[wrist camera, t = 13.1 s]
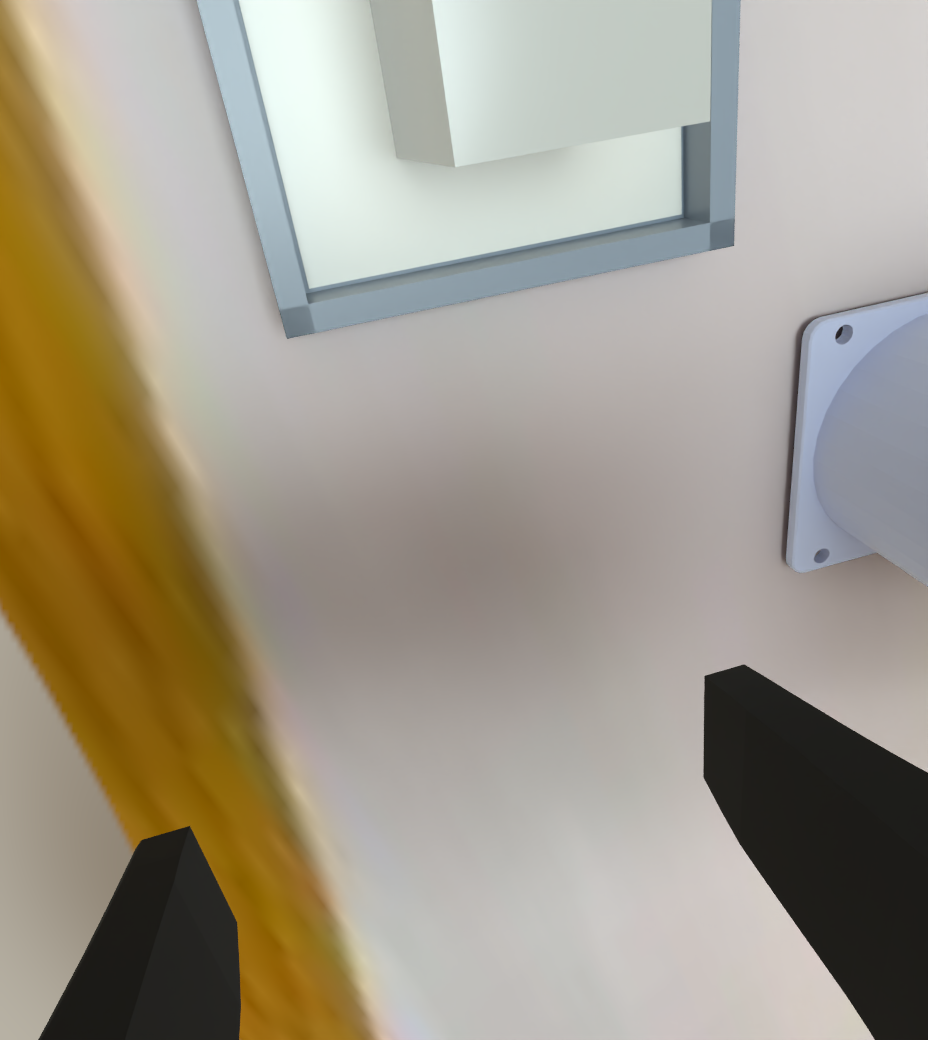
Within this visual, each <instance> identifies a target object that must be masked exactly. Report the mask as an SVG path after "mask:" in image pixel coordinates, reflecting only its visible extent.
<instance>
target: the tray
mask: <svg viewBox="0 0 928 1040" xmlns="http://www.w3.org/2000/svg"><path fill="white" fill-rule="evenodd" d="M196 1H197V4H198V8H199V12H200V16H201V19H202V23H203V27H204V30H205V34H206V38H207V42H208V45H209V49H210V53H211V57H212V60H213V64H214V68H215V72H216V75H217V79H218V83H219V87H220V90H221V94H222V98H223V101H224V105H225V109H226V113H227V116H228V120H229V124H230V128H231V131H232V135H233V139H234V143H235V146H236V150H237V154H238V158H239V161H240V165H241V169H242V172H243V176H244V180H245V184H246V187H247V191H248V195H249V199H250V202H251V206H252V210H253V214H254V217H255V221H256V225H257V229H258V232H259V236H260V240H261V243H262V247H263V251H264V255H265V258H266V262H267V266H268V270H269V273H270V277H271V281H272V285H273V288H274V292H275V296H276V300H277V303H278V307H279V311H280V314H281V318H282V322H283V326H284V329H285V333H286V337H287V339H288V338H293V337H298V336H303V335H307V334H312V333H317V332H322V331H327V330H331V329H336V328H341V327H346V326H351V325H356V324H360V323H365V322H370V321H375V320H380V319H384V318H389V317H394V316H399V315H404V314H408V313H413V312H418V311H423V310H428V309H432V308H437V307H442V306H447V305H452V304H456V303H461V302H466V301H471V300H476V299H480V298H485V297H490V296H495V295H500V294H504V293H509V292H514V291H519V290H524V289H528V288H533V287H538V286H543V285H548V284H553V283H557V282H562V281H567V280H572V279H577V278H581V277H586V276H591V275H596V274H601V273H605V272H610V271H615V270H620V269H625V268H629V267H634V266H639V265H644V264H649V263H653V262H658V261H663V260H668V259H673V258H677V257H682V256H687V255H692V254H697V253H701V252H706V251H711V250H716V249H721V248H726V247H730V246H734V222H735V185H736V147H737V110H738V72H739V34H740V0H712V13H711V96H710V121H709V122H703V123H698V124H692V125H687V126H681V127H676V128H670V129H665V130H659V131H654V132H648V133H643V134H637V135H632V136H626V137H620V138H615V139H609V140H604V141H598V142H593V143H587V144H582V145H576V146H571V147H565V148H560V149H554V150H549V151H543V152H538V153H532V154H527V155H521V156H516V157H510V158H505V159H499V160H493V161H488V162H482V163H477V164H471V165H466V166H460V167H449V166H443V165H437V164H430V163H424V162H418V161H411V160H405V159H399V158H397V157H396V151H395V146H394V140H393V134H392V128H391V123H390V117H389V111H388V105H387V99H386V94H385V88H384V82H383V76H382V71H381V65H380V59H379V53H378V47H377V42H376V36H375V30H374V24H373V19H372V13H371V7H370V1H369V0H196Z"/></svg>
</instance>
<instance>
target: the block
mask: <svg viewBox="0 0 928 1040" xmlns="http://www.w3.org/2000/svg"><path fill="white" fill-rule="evenodd" d="M369 1H370V7H371V13H372V19H373V24H374V30H375V36H376V42H377V47H378V53H379V59H380V65H381V71H382V76H383V82H384V88H385V94H386V99H387V105H388V111H389V117H390V123H391V128H392V134H393V140H394V146H395V151H396V157H397V158H399V159H405V160H411V161H418V162H424V163H430V164H437V165H443V166H449V167H460V166H466V165H471V164H477V163H482V162H488V161H493V160H499V159H505V158H510V157H516V156H521V155H527V154H532V153H538V152H543V151H549V150H554V149H560V148H565V147H571V146H576V145H582V144H587V143H593V142H598V141H604V140H609V139H615V138H620V137H626V136H632V135H637V134H643V133H648V132H654V131H659V130H665V129H670V128H676V127H681V126H687V125H692V124H698V123H703V122H709V121H710V96H711V13H712V0H369Z"/></svg>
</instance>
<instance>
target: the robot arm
mask: <svg viewBox="0 0 928 1040" xmlns="http://www.w3.org/2000/svg"><path fill="white" fill-rule="evenodd" d="M841 326H843V331H842V334H841V336H840V337H839V338H838V339H835V335H836V332H837V331H838V329H839V328H840V327H841ZM819 550H820V552H819V553H818V554H817V555H816V556H815V554H816V553H817V552H818V551H819ZM874 553H878V554H880V555H881V556H883V557H884V558H886V559H887V560H889V561H890V562H892V563H893V564H895V565H896V566H897V567H899V568H900V569H902V570H903V571H905V572H906V573H908V574H909V575H911V576H912V577H914V578H915V579H917V580H918V581H920V582H921V583H923V584H924V585H926V586H927V587H928V293H924V294H920V295H915V296H911V297H907V298H902V299H898V300H893V301H889V302H884V303H880V304H876V305H871V306H867V307H862V308H858V309H853V310H849V311H845V312H840V313H836V314H831V315H827V316H822V317H819V318H817V319H815V320H813V321H812V322H811V323H810V324H809V325H808V326H807V328H806V329H805V331H804V333H803V337H802V347H801V360H800V374H799V387H798V401H797V415H796V428H795V442H794V456H793V469H792V483H791V496H790V510H789V524H788V537H787V551H786V562H787V564H788V565H789V567H791V568H792V569H793V570H794V571H795V572H798V573H805V572H809V571H812V570H816V569H820V568H823V567H827V566H830V565H834V564H838V563H841V562H845V561H849V560H852V559H856V558H859V557H863V556H867V555H870V554H874ZM704 779H705V781H706V783H707V785H708V787H709V789H710V790H711V792H712V794H713V796H714V798H715V800H716V802H717V804H718V806H719V807H720V809H721V811H722V813H723V815H724V817H725V818H726V820H727V822H728V824H729V826H730V827H731V829H732V831H733V833H734V834H735V836H736V838H737V840H738V842H739V843H740V845H741V846H742V848H743V849H744V851H745V852H746V854H747V855H748V857H749V858H750V860H751V861H752V862H753V864H754V865H755V867H756V868H757V870H758V871H759V872H760V874H761V875H762V877H763V878H764V880H765V881H766V883H767V884H768V885H769V887H770V888H771V890H772V891H773V893H774V894H775V895H776V897H777V898H778V900H779V901H780V903H781V904H782V905H783V907H784V908H785V910H786V911H787V912H788V914H789V915H790V917H791V918H792V919H793V921H794V922H795V924H796V925H797V927H798V928H799V929H800V931H801V932H802V934H803V935H804V936H805V938H806V939H807V941H808V942H809V944H810V945H811V946H812V948H813V949H814V951H815V952H816V953H817V955H818V956H819V958H820V959H821V960H822V962H823V963H824V965H825V966H826V968H827V969H828V970H829V972H830V973H831V975H832V976H833V977H834V979H835V980H836V982H837V983H838V985H839V986H840V987H841V989H842V990H843V992H844V993H845V994H846V996H847V997H848V999H849V1000H850V1002H851V1003H852V1005H853V1006H854V1008H855V1010H856V1011H857V1013H858V1014H859V1016H860V1017H861V1019H862V1020H863V1022H864V1023H865V1025H866V1026H867V1028H868V1029H869V1031H870V1032H871V1034H872V1036H873V1037H874V1039H875V1040H928V773H927V772H925V771H924V770H922V769H920V768H918V767H916V766H914V765H913V764H911V763H909V762H907V761H905V760H904V759H902V758H900V757H898V756H896V755H895V754H893V753H891V752H889V751H888V750H886V749H884V748H882V747H881V746H879V745H877V744H875V743H874V742H872V741H870V740H869V739H867V738H865V737H863V736H862V735H860V734H858V733H857V732H855V731H853V730H852V729H850V728H848V727H846V726H845V725H843V724H841V723H840V722H838V721H836V720H835V719H833V718H831V717H830V716H828V715H826V714H825V713H823V712H821V711H820V710H818V709H817V708H815V707H813V706H812V705H810V704H808V703H807V702H805V701H803V700H802V699H800V698H798V697H797V696H795V695H794V694H792V693H790V692H789V691H787V690H785V689H784V688H782V687H781V686H779V685H777V684H776V683H774V682H772V681H771V680H769V679H767V678H766V677H764V676H763V675H761V674H759V673H758V672H756V671H754V670H752V669H751V668H749V667H747V666H746V665H741V666H737V667H734V668H731V669H727V670H724V671H720V672H717V673H713V674H710V675H707V676H705V692H704ZM240 1011H241V999H240V970H239V950H238V931H237V921H236V919H235V917H234V915H233V913H232V911H231V909H230V907H229V905H228V903H227V901H226V899H225V897H224V895H223V893H222V891H221V889H220V887H219V885H218V883H217V881H216V879H215V877H214V875H213V872H212V870H211V868H210V866H209V864H208V862H207V860H206V858H205V856H204V854H203V852H202V850H201V848H200V846H199V844H198V842H197V840H196V838H195V836H194V834H193V832H192V830H191V828H190V826H188V827H185V828H182V829H178V830H175V831H171V832H168V833H164V834H161V835H158V836H154V837H151V838H147V839H144V840H141V842H140V843H139V845H138V846H137V848H136V849H135V851H134V853H133V855H132V858H131V860H130V862H129V864H128V866H127V868H126V870H125V872H124V874H123V876H122V878H121V880H120V882H119V884H118V886H117V888H116V891H115V892H114V895H113V897H112V899H111V901H110V903H109V905H108V907H107V909H106V911H105V913H104V915H103V917H102V919H101V921H100V923H99V925H98V927H97V929H96V931H95V933H94V935H93V937H92V939H91V941H90V943H89V945H88V947H87V949H86V951H85V953H84V955H83V957H82V959H81V961H80V962H79V964H78V966H77V968H76V970H75V972H74V974H73V976H72V978H71V979H70V981H69V983H68V985H67V987H66V989H65V991H64V993H63V995H62V996H61V998H60V1000H59V1002H58V1004H57V1006H56V1008H55V1010H54V1012H53V1013H52V1015H51V1017H50V1019H49V1021H48V1023H47V1025H46V1027H45V1028H44V1030H43V1032H42V1034H41V1036H40V1038H39V1039H38V1040H239V1030H240Z"/></svg>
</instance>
